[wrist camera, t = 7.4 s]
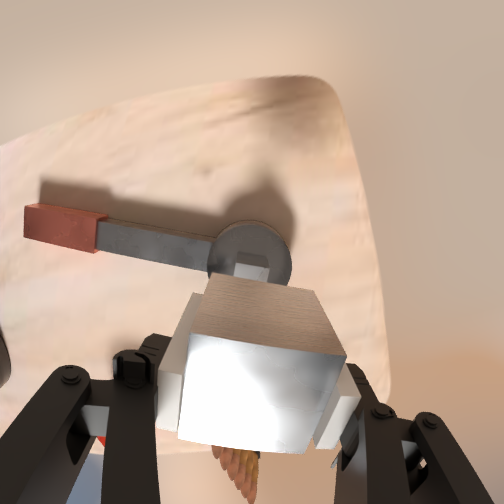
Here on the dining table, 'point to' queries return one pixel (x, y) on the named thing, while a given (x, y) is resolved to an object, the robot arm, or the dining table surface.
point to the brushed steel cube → (258, 366)
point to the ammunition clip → (240, 468)
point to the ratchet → (166, 243)
